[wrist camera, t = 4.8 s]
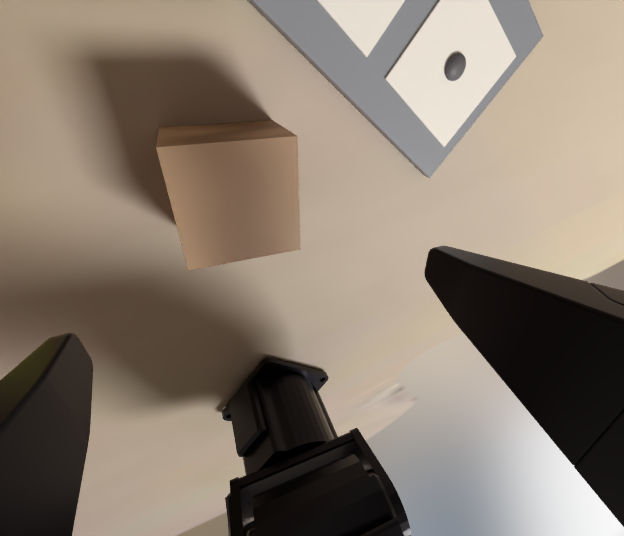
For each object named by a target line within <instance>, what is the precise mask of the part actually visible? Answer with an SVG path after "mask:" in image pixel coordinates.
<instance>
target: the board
mask: <svg viewBox="0 0 624 536" xmlns="http://www.w3.org/2000/svg"><path fill="white" fill-rule="evenodd" d="M247 1H248V2H250V3H251V4H252V5H253V6H254V7H255V8H256V9H257V10H258V11H259V12H260V13H261V14H262V15H263V16H264V17H265V18H266V19H267V20H268V21H269V22H270V23H271V24H272V25H273V26H274V27H275V28H276V29H277V30H278V31H279V32H280V33H281V34H282V35H283V36H284V37H285V38H286V39H287V40H288V41H289V42H290V43H291V44H292V45H293V46H294V47H295V48H296V49H297V50H298V51H299V52H300V53H301V54H302V55H303V56H304V57H305V58H306V59H307V60H308V61H309V62H310V63H311V64H312V65H313V66H314V67H315V68H316V69H317V70H318V71H319V72H320V73H321V74H322V75H323V76H324V77H325V78H326V79H327V80H328V81H329V82H330V83H331V84H332V85H333V86H334V87H335V88H336V89H337V90H338V91H339V92H340V93H341V94H342V95H343V96H344V97H345V98H346V99H347V100H348V101H349V102H350V103H351V104H352V105H353V106H354V107H355V108H356V109H357V110H358V111H359V112H360V113H361V114H362V115H363V116H364V117H365V118H366V119H367V120H368V121H370V122H371V123H372V124H373V125H374V126H375V127H376V128H377V129H378V130H379V131H380V132H381V133H382V134H383V135H384V136H385V137H386V138H387V139H388V140H389V141H390V142H391V143H392V144H393V145H394V146H395V147H396V148H397V149H398V150H399V151H400V152H401V153H402V154H403V155H404V156H405V157H406V158H407V159H408V160H409V161H410V162H411V163H412V164H413V165H414V166H415V167H416V168H417V169H418V170H419V171H420V172H421V173H422V174H423V175H424V176H426V177H429V178H430V177H431V176H432V175H433V173H434V172H435V171H436V170H437V168H438V167H439V166H440V165H441V163H442V162H443V161H444V160H445V158H446V157H447V156H448V155H449V153H450V152H451V151H452V150H453V148H454V147H455V146H456V145H457V143H458V142H459V141H460V140H461V138H462V137H463V136H464V135H465V133H466V132H467V131H468V130H469V128H470V127H471V126H472V125H473V123H474V122H475V121H476V120H477V118H478V117H479V116H480V115H481V113H482V112H483V111H484V110H485V108H486V107H487V106H488V105H489V103H490V102H491V101H492V100H493V98H494V97H495V96H496V95H497V93H498V92H499V91H500V90H501V88H502V87H503V86H504V85H505V83H506V82H507V81H508V80H509V79H510V77H511V76H512V75H513V74H514V72H515V71H516V70H517V69H518V67H519V66H520V65H521V64H522V62H523V61H524V60H525V59H526V57H527V56H528V55H529V54H530V52H531V51H532V50H533V49H534V47H535V46H536V45H537V44H538V42H539V41H540V40H541V39H542V37H543V34H542V32H541V29H540V27H539V24H538V22H537V20H536V17H535V15H534V12H533V10H532V8H531V5H530V3H529V0H247Z"/></svg>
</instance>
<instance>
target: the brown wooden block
mask: <svg viewBox="0 0 624 536" xmlns="http://www.w3.org/2000/svg"><path fill="white" fill-rule="evenodd" d="M156 150H157V153H158V157H159V161H160V165H161V169H162V172H163V176H164V180H165V184H166V188H167V191H168V195H169V199H170V203H171V206H172V210H173V214H174V218H175V222H176V225H177V229H178V233H179V237H180V241H181V244H182V248H183V252H184V256H185V259H186V263H187V267H188V270H193V269H198V268H204V267H209V266H214V265H220V264H225V263H230V262H236V261H241V260H246V259H252V258H257V257H262V256H268V255H273V254H278V253H284V252H289V251H294V250H300V218H299V183H298V148H297V136H296V135H295V134H293V133H292V132H290V131H288V130H287V129H285V128H284V127H282V126H281V125H279V124H277V123H276V122H274V121H273V120H267V121H252V122H236V123H220V124H205V125H189V126H173V127H159V132H158V138H157V144H156Z"/></svg>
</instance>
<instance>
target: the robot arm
mask: <svg viewBox="0 0 624 536" xmlns="http://www.w3.org/2000/svg"><path fill="white" fill-rule="evenodd" d="M425 278H426V280H427V282H428V283H429V285H430V286H431V288H432V289H433V291H434V292H435V294H436V295H437V297H438V298H439V300H440V301H441V303H442V304H443V306H444V307H445V309H446V310H447V312H448V313H449V315H450V316H451V317H452V319H453V320H454V321H455V323H456V324H457V325H458V327H459V328H460V329H461V330H462V331H463V333H464V334H465V335H466V336H467V337H468V339H469V340H470V341H471V342H472V343H473V345H474V346H475V347H476V348H477V350H478V351H479V352H480V353H481V354H482V356H483V357H484V358H485V359H486V360H487V362H488V363H489V364H490V365H491V367H492V368H493V369H494V370H495V371H496V373H497V374H498V375H499V376H500V377H501V379H502V380H503V381H504V382H505V383H506V385H507V386H508V387H509V388H510V389H511V391H512V392H513V393H514V394H515V396H516V397H517V398H518V399H519V400H520V402H521V403H522V404H523V405H524V406H525V408H526V409H527V410H528V411H529V412H530V414H531V415H532V416H533V417H534V418H535V420H536V421H537V422H538V423H539V425H540V426H541V427H542V428H543V429H544V430H545V432H546V433H547V434H548V435H549V437H550V438H551V439H552V440H553V441H554V443H555V444H556V445H557V446H558V448H559V449H560V450H561V451H562V452H563V454H564V455H565V456H566V457H567V458H568V460H569V461H570V462H571V463H572V464H573V465H574V467H575V469H576V470H577V471H578V472H579V473H580V475H581V476H582V477H583V478H584V479H585V481H587V483H588V484H589V485H590V487H591V488H592V489H593V490H594V491H595V493H596V494H597V495H598V496H599V498H600V499H601V500H602V501H603V502H604V504H605V505H606V506H607V507H608V508H609V510H610V511H611V512H612V513H613V515H614V516H615V517H616V518H617V519H618V521H619V522H620V523H621V524H622V525H623V526H624V291H623V290H619V289H615V288H610V287H607V286H603V285H599V284H595V283H588V282H587V281H583V280H579V279H575V278H571V277H567V276H563V275H559V274H555V273H551V272H547V271H543V270H539V269H535V268H531V267H527V266H523V265H519V264H515V263H511V262H507V261H503V260H499V259H496V258H492V257H488V256H484V255H480V254H476V253H472V252H468V251H464V250H460V249H456V248H452V247H448V246H439V247H435V248H432V249H430V251H429V253H428V257H427V262H426V267H425ZM268 364H269V365H268ZM92 379H93V364H92V360H91V358H90V356H89V354H88V353H87V351H86V349H85V348H84V346H83V345H82V343H81V341H80V340H79V338H78V337H77V336H76V335H75V334H73V333H67V334H63V335H59V336H55V337H51V338H49V339H48V340H47V341H45V342H44V343H43V344H42V345H41V346H40V347H38V348H37V349H36V350H35V351H34V352H33V353H32V354H30V355H29V356H28V357H27V358H26V359H25V360H23V361H22V362H21V363H20V364H19V365H18V366H16V367H15V368H14V369H13V370H12V371H11V372H9V373H8V374H7V375H6V376H5V377H4V378H3V379H1V380H0V536H72V532H73V526H74V520H75V515H76V509H77V503H78V498H79V492H80V487H81V481H82V475H83V470H84V464H85V459H86V453H87V447H88V441H89V434H90V421H91V400H92ZM327 380H328V376H327V374H326V372H323V371H319V370H316V369H312V368H308V367H304V366H300V365H296V364H292V363H289V362H285V361H281V360H277V359H273V358H266V359H264V360H262V361H261V363H260V364H259V365H258V367H257V368H256V369H255V370H254V372H253V373H252V374H251V376H250V377H249V378H248V379H247V381H246V382H245V383H244V385H243V386H242V387H241V388H240V390H239V391H238V392H237V394H236V395H235V396H234V397H233V399H232V400H231V401H230V403H229V404H228V405H227V406H226V408H225V409H224V410H223V412H222V416H223V419H224V420H226V421H232V425H233V431H234V437H235V443H236V449H237V454H238V456H239V457H243V461H244V466H245V472H246V476H244V477H241V478H239V477H237V478H235V479H232V480H230V494H229V495H228V496H227V497H226V498H225V500H226V508H227V517H228V528H229V536H411V532H410V526H409V523H408V519H407V516H406V513H405V510H404V508H403V505H402V503H401V500H400V498H399V496H398V493H397V491H396V489H395V487H394V486H393V484H392V482H391V480H390V479H389V477H388V475H387V474H386V472H385V471H384V469H383V467H382V466H381V464H380V463H379V461H378V460H377V458H376V456H375V455H374V454H373V452H372V450H371V449H370V447H369V446H368V444H367V443H366V441H365V439H364V438H363V436H362V435H361V433H360V432H359V430H358V429H357V428H355V429H353V430H350V432H349V433H347V434H344V435H342V436H340V437H338V436H337V434H336V432H335V429H334V427H333V425H332V422H331V420H330V418H329V416H328V413H327V411H326V409H325V406H324V404H323V402H322V400H321V397H320V395H319V393H318V391H319V389H320V388H321V387H322V386H323V385H324V384H325V383H326V381H327Z"/></svg>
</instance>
